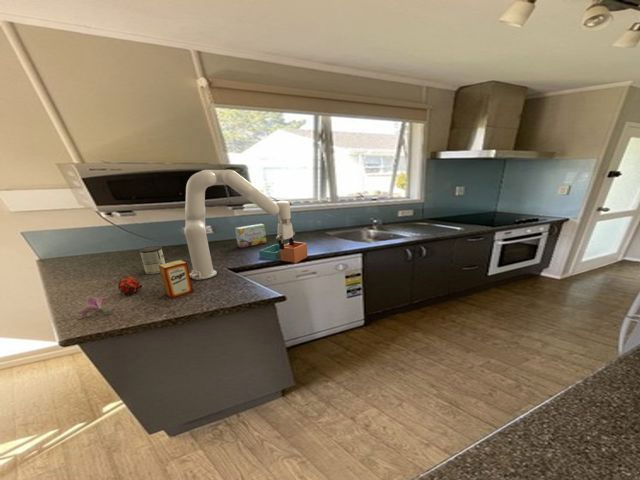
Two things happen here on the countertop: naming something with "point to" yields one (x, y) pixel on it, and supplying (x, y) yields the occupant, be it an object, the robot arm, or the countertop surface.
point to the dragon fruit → (129, 285)
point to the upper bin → (294, 252)
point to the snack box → (250, 235)
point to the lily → (93, 304)
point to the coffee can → (152, 259)
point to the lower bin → (270, 252)
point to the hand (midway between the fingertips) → (286, 247)
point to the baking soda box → (176, 278)
